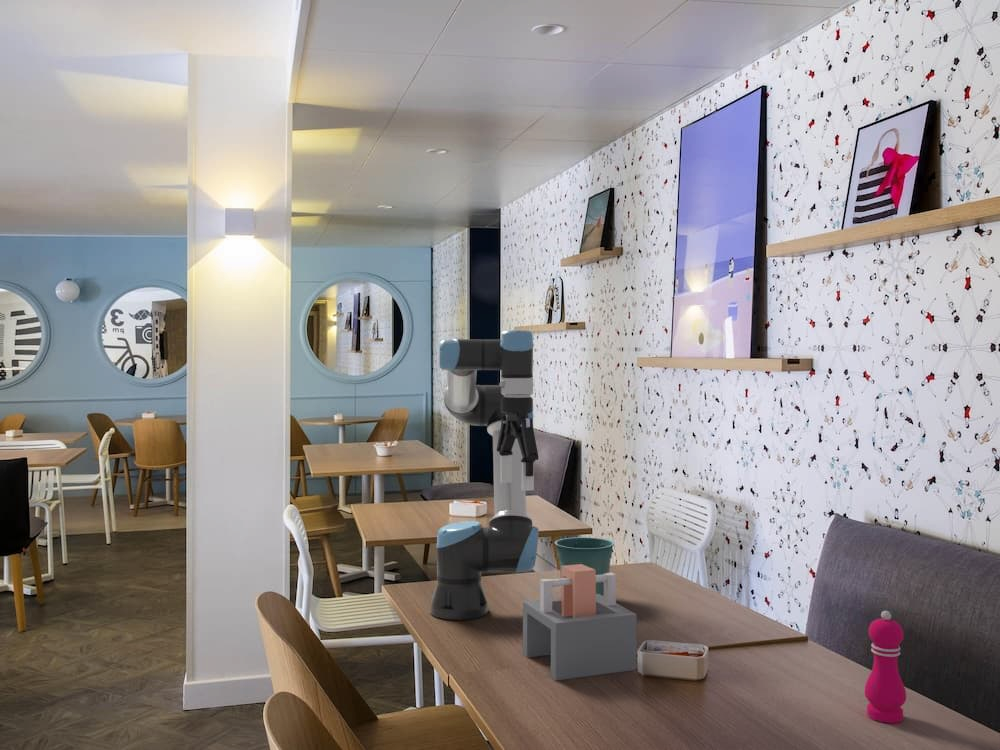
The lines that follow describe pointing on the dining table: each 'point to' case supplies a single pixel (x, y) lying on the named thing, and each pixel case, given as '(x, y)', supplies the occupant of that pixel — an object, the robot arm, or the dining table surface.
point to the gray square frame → (580, 633)
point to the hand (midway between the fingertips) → (516, 486)
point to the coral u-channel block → (579, 591)
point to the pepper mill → (885, 672)
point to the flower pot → (586, 555)
